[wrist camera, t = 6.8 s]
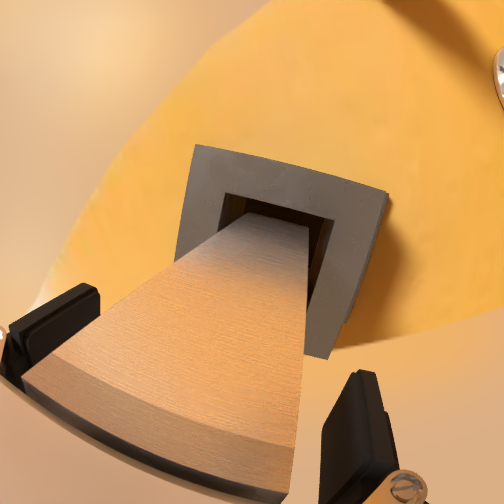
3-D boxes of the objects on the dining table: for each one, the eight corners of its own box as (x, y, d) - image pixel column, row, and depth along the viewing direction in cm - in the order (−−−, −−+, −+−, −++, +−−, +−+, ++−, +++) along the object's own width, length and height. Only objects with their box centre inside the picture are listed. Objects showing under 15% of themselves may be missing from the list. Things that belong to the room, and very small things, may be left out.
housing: (386, 192, 28) (420, 203, 18) (345, 318, 32) (355, 372, 23) (205, 146, 30) (160, 138, 21) (181, 272, 34) (137, 308, 25)
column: (308, 227, 24) (288, 493, 3) (290, 292, 26) (226, 562, 5) (248, 211, 25) (21, 376, 4) (234, 276, 27) (74, 500, 6)
